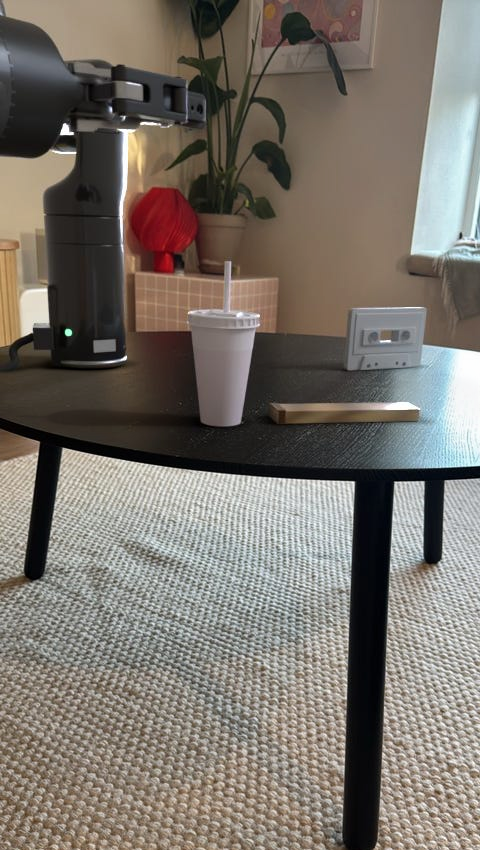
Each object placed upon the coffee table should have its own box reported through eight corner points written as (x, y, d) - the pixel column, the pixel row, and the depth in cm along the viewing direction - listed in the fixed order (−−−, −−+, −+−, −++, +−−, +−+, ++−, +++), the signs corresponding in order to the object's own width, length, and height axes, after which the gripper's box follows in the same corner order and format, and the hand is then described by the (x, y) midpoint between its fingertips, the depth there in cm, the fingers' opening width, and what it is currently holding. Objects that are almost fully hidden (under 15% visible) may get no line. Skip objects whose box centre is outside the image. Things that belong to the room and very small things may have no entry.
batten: (277, 424, 69) (278, 410, 69) (269, 416, 72) (269, 402, 71) (418, 421, 72) (420, 407, 72) (405, 413, 75) (407, 401, 74)
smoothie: (204, 432, 65) (207, 262, 60) (174, 416, 70) (175, 258, 65) (268, 426, 68) (276, 263, 63) (235, 411, 73) (240, 259, 68)
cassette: (414, 364, 103) (421, 306, 100) (423, 367, 101) (430, 308, 98) (340, 368, 98) (345, 308, 95) (348, 371, 96) (354, 309, 93)
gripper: (41, -12, 39) (235, 47, 51) (-108, 22, 47) (90, 66, 59) (50, 150, 41) (232, 170, 53) (-91, 156, 49) (95, 172, 61)
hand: (158, 116), depth 56 cm, fingers open, 8 cm apart
